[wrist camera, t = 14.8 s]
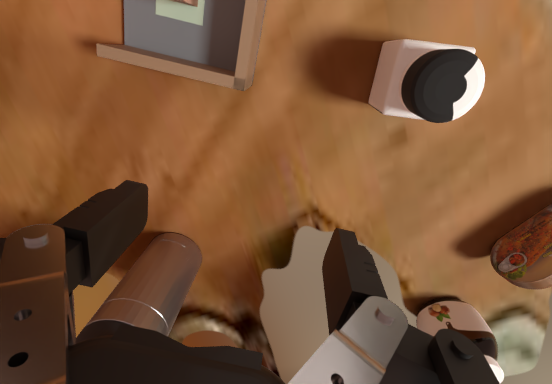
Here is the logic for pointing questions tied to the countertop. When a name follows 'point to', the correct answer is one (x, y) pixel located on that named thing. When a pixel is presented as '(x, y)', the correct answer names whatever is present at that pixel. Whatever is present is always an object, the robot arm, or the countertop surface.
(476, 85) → the medicine bottle
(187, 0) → the block
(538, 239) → the tin
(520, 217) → the countertop surface
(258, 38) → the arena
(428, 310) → the spread jar
